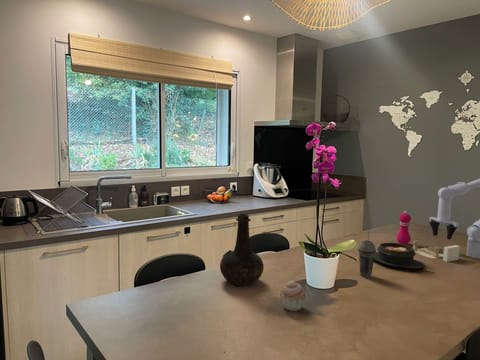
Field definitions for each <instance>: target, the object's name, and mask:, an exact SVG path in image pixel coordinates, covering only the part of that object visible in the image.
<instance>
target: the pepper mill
mask: <svg viewBox="0 0 480 360" xmlns="http://www.w3.org/2000/svg"><path fill="white" fill-rule="evenodd" d="M398 220H399V226H400V228H399V231H398V233H397V235H396V240H397V242H396V243H399V244H404V245H408V246H410V242H411V240H412V238H411V234H410V232H409V226H410V222H411V220H412V217H411V215H410V214H409V213H408V211H407V210H404V211H403V213H400V215H399V217H398Z"/></svg>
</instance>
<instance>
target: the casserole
mask: <svg viewBox="0 0 480 360" xmlns="http://www.w3.org/2000/svg"><path fill="white" fill-rule="evenodd" d="M416 255H417V254H416V253H415V252H414V249H413V246H410V245H409V246H408V245H404V244H399V243H397V242H382V243H380V244H379V246H378V247H377V248H376V252H375V256H374V261H377V262H378V263H381V264H383V265H385V266H388V267H393V268H399V269H401V268H406V269H411V270H412V269H413V270H416V269H417V270H418V269H422V268H423V267H425V263H424V262H422V261H419V260H417V259H415V258H414V257H415V256H416Z"/></svg>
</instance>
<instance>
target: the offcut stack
mask: <svg viewBox="0 0 480 360" xmlns="http://www.w3.org/2000/svg"><path fill="white" fill-rule="evenodd" d="M434 247H437V246H436V245H430V246H429V247H427V248H428V249H427V251H430V252H433V253H434ZM442 249H443V248H442V247H439V253H443V252H444V250H442Z"/></svg>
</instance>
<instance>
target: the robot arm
mask: <svg viewBox="0 0 480 360" xmlns="http://www.w3.org/2000/svg"><path fill="white" fill-rule="evenodd" d="M476 188H477V189H478V188H480V178H477V179H475V180H473V181H469V182H467V183H466V182H464V181H462V182H461V181H458V182H457V183H456V184H452V185H450V184H449V185H448V186H447V187H442V188H439V190H438V191H437V196H438V197H439V198H438V204H437V215H436V216H437V217H435V216H429V217H428V218H429V225H430V227H431V230H432V234H433V237H436V236H438V234H439V233H438V232H439V226H440V224H443V225H446V232H447V233H446V235H447V236H446V239H447V240H452V237H453V235H454V233H455V231H456V230H457V229H458V227H459V222H456V221H453V220H452V219H451V213H452V212H451V211H452V200H453V199H454V198H455V197H460V196H462V195H464V194H468V193H469V191H470V190H473V189H476ZM466 235H467V236H468V238H467V243H466V256H467V257H468V258H473V259H480V218H479V220H476V221H475V222H474V223H473V224H472V225H470V226H469V227H467V229H466Z"/></svg>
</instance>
